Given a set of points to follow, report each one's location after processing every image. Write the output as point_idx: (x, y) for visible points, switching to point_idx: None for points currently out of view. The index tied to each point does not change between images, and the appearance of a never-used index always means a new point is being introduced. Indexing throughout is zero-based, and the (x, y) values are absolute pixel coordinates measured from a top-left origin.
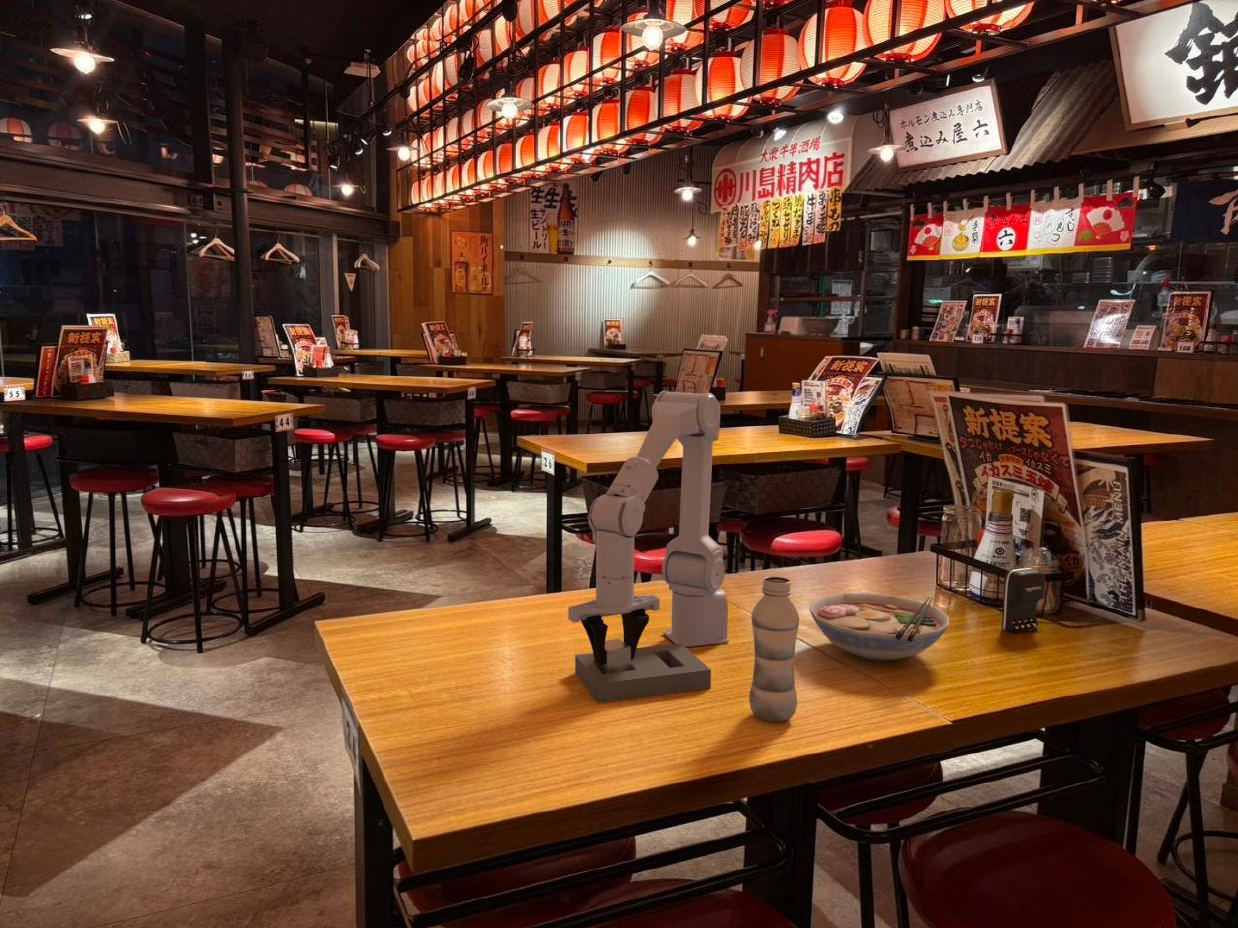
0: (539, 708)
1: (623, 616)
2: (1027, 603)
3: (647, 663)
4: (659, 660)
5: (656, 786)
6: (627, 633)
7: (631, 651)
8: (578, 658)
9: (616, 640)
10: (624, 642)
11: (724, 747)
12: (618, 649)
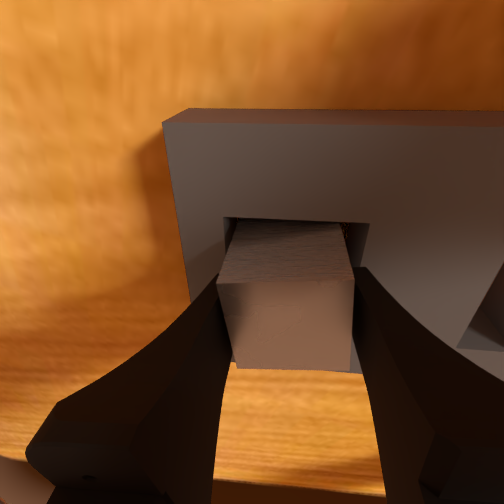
0: (81, 298)
1: (413, 431)
2: None
3: (412, 300)
4: (475, 292)
5: (227, 479)
6: (377, 369)
7: (354, 342)
8: (171, 171)
9: (328, 294)
10: (350, 330)
11: (352, 466)
12: (290, 365)
